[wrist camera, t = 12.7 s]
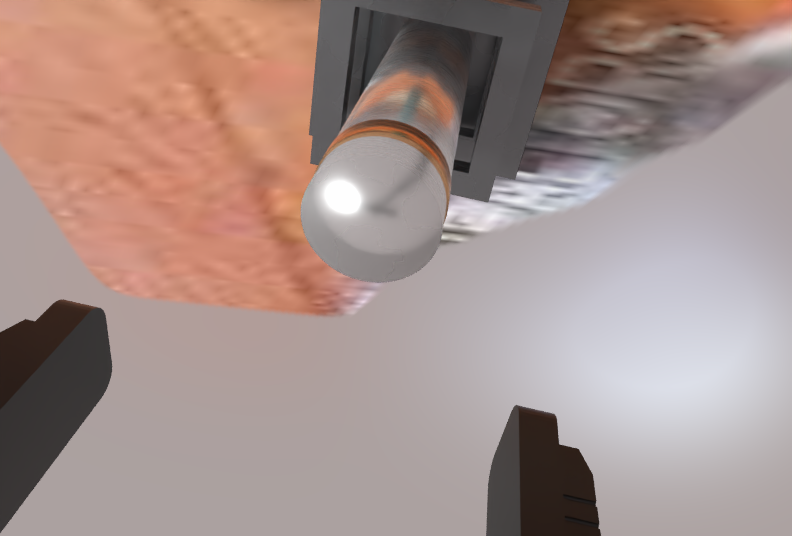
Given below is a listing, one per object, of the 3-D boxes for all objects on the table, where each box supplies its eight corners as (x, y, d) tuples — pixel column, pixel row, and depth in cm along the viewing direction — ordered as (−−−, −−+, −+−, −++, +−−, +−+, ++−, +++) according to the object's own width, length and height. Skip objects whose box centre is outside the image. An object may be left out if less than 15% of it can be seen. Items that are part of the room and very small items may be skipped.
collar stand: (583, -57, 30) (605, -30, 23) (514, 170, 36) (516, 243, 30) (336, -107, 30) (286, -95, 23) (314, 127, 37) (270, 189, 30)
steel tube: (482, 18, 31) (459, 173, 16) (463, 97, 33) (428, 296, 19) (401, 1, 31) (305, 139, 16) (388, 81, 33) (294, 266, 19)
